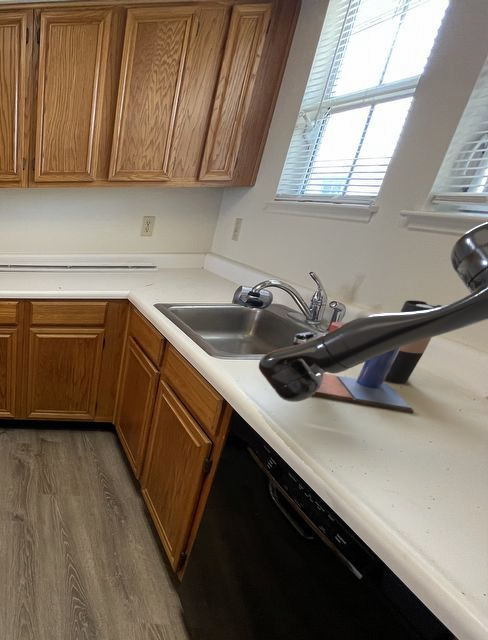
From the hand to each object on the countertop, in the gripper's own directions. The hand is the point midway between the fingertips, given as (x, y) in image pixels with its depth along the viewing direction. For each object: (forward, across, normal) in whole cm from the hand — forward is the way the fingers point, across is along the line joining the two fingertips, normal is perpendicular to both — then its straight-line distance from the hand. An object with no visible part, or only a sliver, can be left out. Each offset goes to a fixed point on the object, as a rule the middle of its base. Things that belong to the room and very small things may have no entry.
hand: (340, 339), depth 99 cm
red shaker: (-3, 0, +7) cm, 7 cm away
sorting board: (+2, -4, +13) cm, 14 cm away
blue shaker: (+9, -8, +12) cm, 16 cm away
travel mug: (+21, -9, +13) cm, 27 cm away
